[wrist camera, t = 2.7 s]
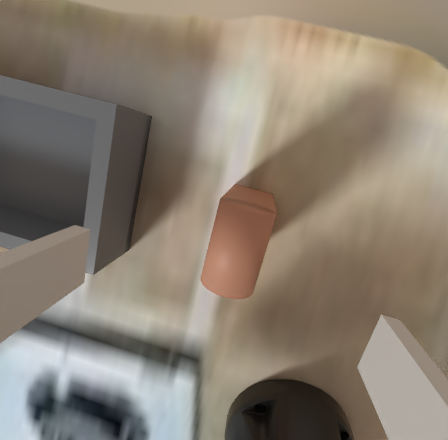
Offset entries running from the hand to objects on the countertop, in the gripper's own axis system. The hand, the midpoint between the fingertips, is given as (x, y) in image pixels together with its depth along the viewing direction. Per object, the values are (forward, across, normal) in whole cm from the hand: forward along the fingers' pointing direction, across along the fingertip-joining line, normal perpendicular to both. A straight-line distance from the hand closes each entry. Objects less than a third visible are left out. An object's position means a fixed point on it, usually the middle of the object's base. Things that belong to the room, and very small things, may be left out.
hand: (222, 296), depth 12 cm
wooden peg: (+18, 0, 0) cm, 18 cm away
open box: (+18, +24, 0) cm, 29 cm away
